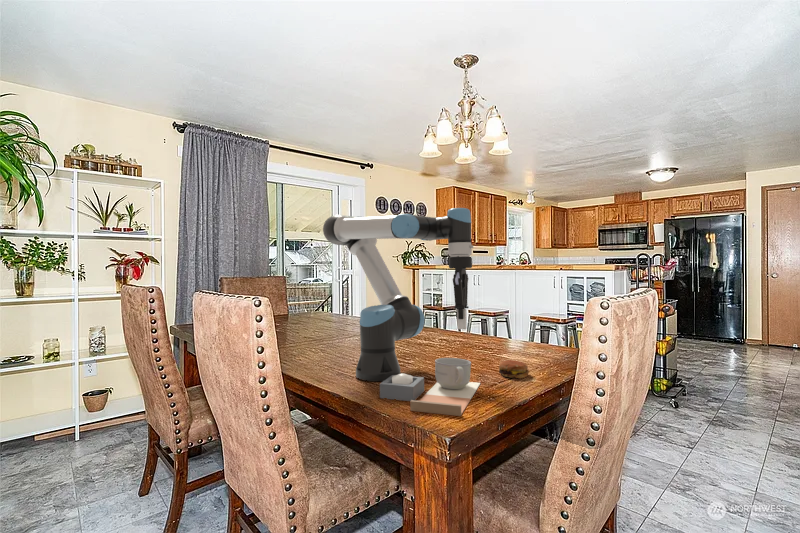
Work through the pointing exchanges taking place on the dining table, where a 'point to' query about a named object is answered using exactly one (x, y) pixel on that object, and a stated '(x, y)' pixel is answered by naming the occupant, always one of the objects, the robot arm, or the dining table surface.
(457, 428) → the dining table surface
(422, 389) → the grey square tray
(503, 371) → the burger
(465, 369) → the teacup
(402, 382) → the white faceted ball
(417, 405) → the board
